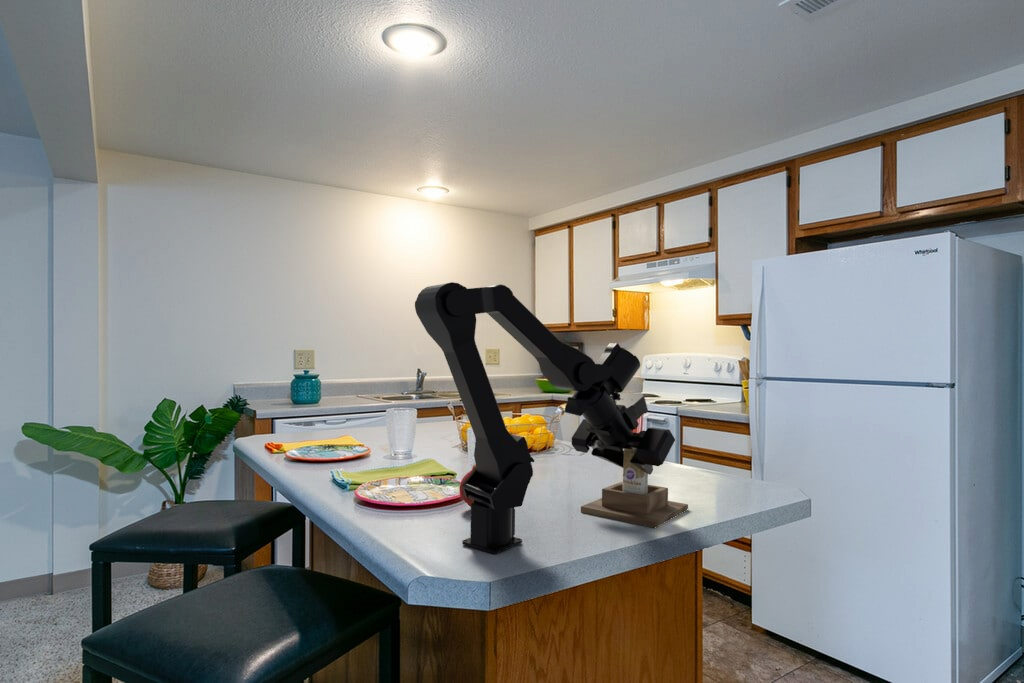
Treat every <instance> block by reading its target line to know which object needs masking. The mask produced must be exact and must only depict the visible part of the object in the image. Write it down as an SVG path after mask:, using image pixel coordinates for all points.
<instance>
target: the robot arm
mask: <svg viewBox="0 0 1024 683" xmlns="http://www.w3.org/2000/svg"><path fill="white" fill-rule="evenodd" d="M414 308H415V313H416V315H417V317H418V320H419V321H420V322H421V324H422V326H423V327H424V329H425V331H426V333H427V334H428V335H429V336H430V337H431V339H433V341H434V342H435V344H437V346H438V347H439V348H440V349H441V351H442V352H443V355H444V358H445V360H446V362H447V365H448V368H449V371H450V373H451V376H452V379H453V381H454V382H453V383H454V384H455V386H456V390H457V392H458V394H459V397H460V400H461V403H462V405H463V408H464V411H465V414H466V415H467V416H466V417H467V419H468V422H469V425H470V426H471V430H472V431H473V434H474V438H475V439H474V440H475V442H474V452H473V457H474V461H475V462H474V463H475V464H476V468H475V470H474V471H473V472H472V473H471V474H470V476H469V477H468V478H467V479H466V481H465V482H464V483H463V484H462V488H463V491H464V494H465V497H466V498H470V499H472V500H474V502H473V503H472V504H471V507H470V537H468V538H465V539H463V540H462V545H463V546H466V547H471V548H474V549H477V550H481V551H484V552H488V553H492V554H498V553H501V552H503V551H505V550H507V549H510V548H513V547H515V546H518V545H520V544H522V543H523V539H522V538H520V537H516V536H515V535H516V509H515V508H519V507H522V506H523V503H524V500H525V496H526V494H527V489H528V487H529V484H530V482H531V479H532V477H533V476H534V468H533V464H532V463H534V462H535V459H534V458H533V457H532V456H531V454H530V450H529V446H528V442H527V440H526V437H525V436H522V435H516V434H514V433H510V431H509V430H508V429H507V426H506V423H505V421H504V418H503V415H502V412H501V410H500V407H499V405H498V404H499V403H498V402H497V398H496V396H495V393H494V391H493V387H492V385H491V383H490V379H489V377H488V373H487V371H486V369H485V365H484V363H483V360H482V357H481V355H480V352H479V349H478V347H477V346H478V345H477V343H476V338H475V337H476V329H477V328H476V327H477V317H476V314H477V315H479V314H487V315H488V316H490V318H492V320H494V321H495V322H496V323H497V324H498V325H499V326H500V327H502V329H504V330H505V331H506V332H507V333H508V334H509V335H510V336H511V337H512V338H513V339H514V340H515V341H516V342H518V343H519V345H521V346H522V347H523V348H524V349H525V350H526V351H527V352H528V353H529V354H530V355H532V356H533V358H534V359H535V360H536V361H537V363H538V364H539V369H540V371H541V373H542V374H543V376H544V377H545V379H546V380H547V381H548V383H549V384H550V385H551V386H552V387H554V388H555V389H557V390H565V391H575V392H574V394H572V395H571V396H568V397H567V402H566V404H565V406H564V412H565V413H566V414H569V415H572V416H573V415H575V416H578V417H583V419H582V421H581V422H580V424H579V425H578V426H577V428H576V430H575V432H574V433H573V435H572V437H571V446H572V447H573V448H574V450H575V451H576V452H580V453H586V454H588V452H589V450H590V448H591V449H592V451H591V455H592V456H593V457H597V458H599V459H601V460H604V461H605V462H608V463H611V464H613V465H615V466H618V467H620V468H622V469H623V463H624V462H623V461H624V449H625V450H631V449H632V448H633V449H634V450H635V451H634V455H633V457H632V459H631V460H630V463H632V464H633V465H635V466H636V467H638V468H639V469H641V470H642V471H644V472H646V473H647V474H648V475H651V474H652V473H653V471H654V467H653V466H655V467H661V466H662V465H663V464H664V463H665V461H666V459H667V456H668V455H669V453H670V451H671V449H672V447H673V445H674V443H675V442H676V438H675V437H674V434H672V431H671V430H670V429H668V428H667V429H666V428H661V427H660V428H659V427H647V428H646V430H640V431H639V432H634V430H637V429H638V427H639V424H640V423H639V422H638V420H639V419H640V418H642V416H643V415H645V414H647V413H648V412H649V409H648V406H647V401H646V398H645V395H644V393H638V392H636V393H635V392H623V391H624V390H625V389H626V387H627V386H628V385H629V383H630V382H631V381H632V379H633V378H634V376H635V375H636V373H637V372H638V371H639V369H640V368H641V362H640V359H639V358H638V357H637V356H636V355H635V354H633V353H632V352H631V351H629V350H628V349H626V348H623V347H621V346H620V344H619V343H611V342H610V343H609V344H608V345H607V346H606V347H605V349H604V351H603V352H602V354H601V355H600V356H599V358H598V360H597V361H596V362H595V361H594V360H593V358H592V357H590V356H589V355H587V354H586V353H585V352H583V351H582V350H580V349H578V348H576V347H575V346H573V345H569V344H567V343H566V342H563V341H562V340H561V339H559V337H557V336H556V335H555V334H554V333H553V332H552V331H551V330H550V329H549V328H548V327H547V326H546V325H545V324H544V323H542V321H540V319H539V318H538V317H537V316H535V314H533V312H532V311H530V310H529V308H527V307H526V306H525V305H524V304H523V303H522V302H521V301H520V300H519V299H518V298H517V297H516V296H515V295H514V293H513V290H511V288H510V287H508V286H506V285H504V284H500V283H499V284H496V285H487V286H484V287H483V286H482V287H473V288H472V287H471V288H468V287H466V286H464V285H462V284H460V283H459V282H454V281H453V282H451V281H450V282H445V283H441V284H439V283H438V284H435V285H429V286H426V287H424V288H423V289H421V291H420V292H419V293H418V295H417V298H416V300H415V301H414ZM622 392H623V393H622Z"/></svg>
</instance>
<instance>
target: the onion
mask: <svg viewBox="0 0 1024 683" xmlns="http://www.w3.org/2000/svg"><path fill="white" fill-rule="evenodd" d="M475 468H476V463H475V464H473V465H472V468H471V470H470V471H468V472H467V473H466V474H465V475H464V476H463V477H462V478H461V480H460V483H459V487H458V488H459V495H460V497H461V499H462V500H463V501H464V502H465V504H466V505H468V506H469V508H471V504H472V503H473V502H474V500H472V499H470V498H466V497H465V494H464V491H463V488H462V484H463V483H464V482H465V481H466V479H467V478H468V477H469V476H470V474H471V473H472V472H473V471H474V470H475Z"/></svg>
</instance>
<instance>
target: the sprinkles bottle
mask: <svg viewBox="0 0 1024 683" xmlns="http://www.w3.org/2000/svg"><path fill="white" fill-rule="evenodd" d="M623 451H624V461H623V462H624V463H623V468H622V469H623V471H622V472H623V474H622V482H623V491H624V492H630V493H635V494H641V495H646V494H647V493H648V485H649V483H648V481H649V479H648V476H649V474H647V473H646V472H644V471H642V470H641V469H639V468H638V467H636V466H635V465H633V464H632V463H630V460H631V459H632V457H633V455H634V451H635V450H634V449H633V448H632V449H631V450H625V449H623Z"/></svg>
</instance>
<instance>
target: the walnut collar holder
mask: <svg viewBox="0 0 1024 683" xmlns="http://www.w3.org/2000/svg"><path fill="white" fill-rule="evenodd" d="M687 509H688V510H689V504H688V503H683V502H677V501H671V500H669V487H665V486H658V485H652V484H648V493H647V494H646V495H641V494H635V493H630V492H624V491H623V481H619V482H617V483H615V484H612V485H608V486H607V487H604V488H602V489H601V498H597V499H596V500H593V501H591V502H588V503H586V504H583V505H580V512H581V513H584V514H588V515H594V516H597V517H602V518H606V519H611V520H616V521H621V522H624V521H625V522H626V523H629V522H630V524H635V525H638V524H639V526H644V527H648V528H652V527H654V528H653V529H656V528H658V527H659V525H660V526H661V524H662V525H664V524H665V523H666V521H667V522H669V521H671V520H672V519H674V518H676V517H678V516H680V515H681V514H680V513H682V512H683V513H685V512H687V511H688V510H687ZM686 510H687V511H686ZM684 511H685V512H684ZM683 513H682V514H683ZM679 514H680V515H679ZM677 515H678V516H677ZM675 516H676V517H675ZM673 517H674V518H673ZM671 518H672V519H671ZM670 519H671V520H670ZM668 520H669V521H668ZM664 522H665V523H664ZM657 526H658V527H657ZM655 527H656V528H655Z"/></svg>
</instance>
